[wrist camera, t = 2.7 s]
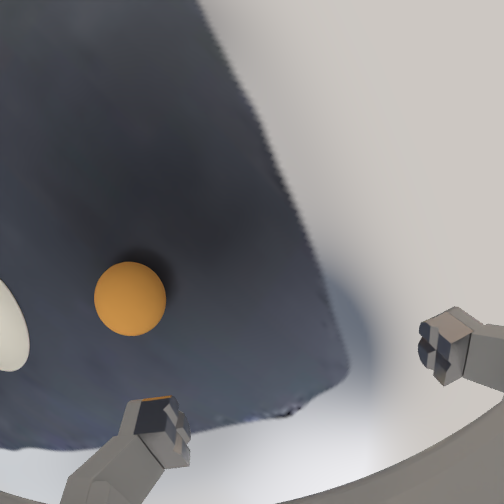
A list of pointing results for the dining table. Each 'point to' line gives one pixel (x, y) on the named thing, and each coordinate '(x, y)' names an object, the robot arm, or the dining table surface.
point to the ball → (130, 298)
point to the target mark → (12, 332)
